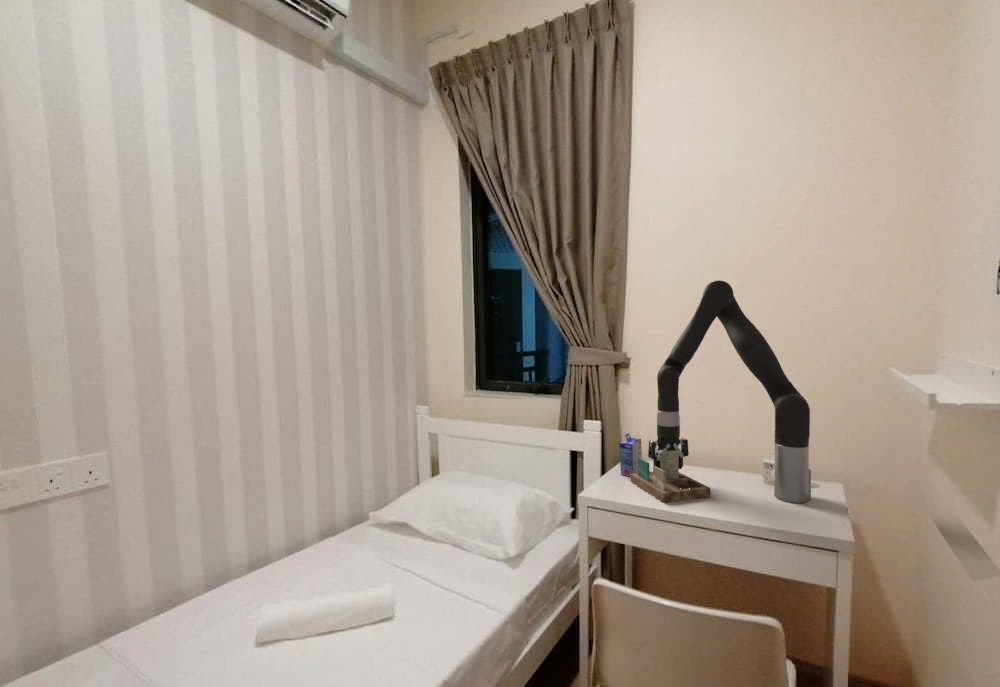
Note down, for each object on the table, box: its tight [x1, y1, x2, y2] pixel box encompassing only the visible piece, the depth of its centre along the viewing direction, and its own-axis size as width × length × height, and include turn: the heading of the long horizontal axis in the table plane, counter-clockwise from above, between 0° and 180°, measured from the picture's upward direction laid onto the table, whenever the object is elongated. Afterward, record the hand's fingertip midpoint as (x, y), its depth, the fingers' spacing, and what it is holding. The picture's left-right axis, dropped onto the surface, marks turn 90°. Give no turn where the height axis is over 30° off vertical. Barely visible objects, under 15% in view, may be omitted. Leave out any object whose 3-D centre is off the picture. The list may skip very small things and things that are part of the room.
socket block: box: [630, 458, 711, 503], centre depth 164 cm, size 17×20×9 cm
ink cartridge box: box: [619, 433, 643, 477], centre depth 183 cm, size 10×6×14 cm, turn 146°
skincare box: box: [659, 450, 680, 480], centre depth 169 cm, size 6×4×12 cm
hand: (668, 469), depth 170 cm, fingers open, 8 cm apart
